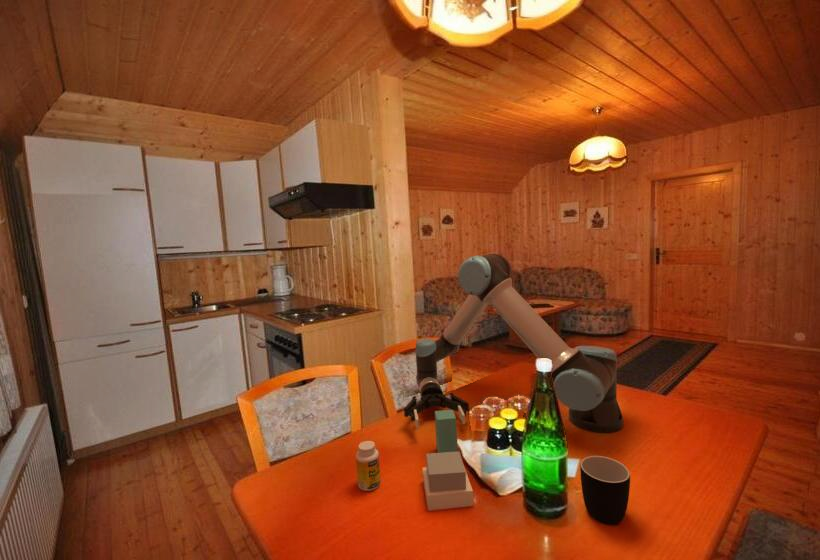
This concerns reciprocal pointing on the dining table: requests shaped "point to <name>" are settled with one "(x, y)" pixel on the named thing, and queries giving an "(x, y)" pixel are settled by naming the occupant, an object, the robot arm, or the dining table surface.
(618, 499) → the mug
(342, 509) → the dining table surface
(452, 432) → the teal brick
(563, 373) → the robot arm
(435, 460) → the grey brick
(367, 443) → the supplement bottle
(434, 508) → the base brick
